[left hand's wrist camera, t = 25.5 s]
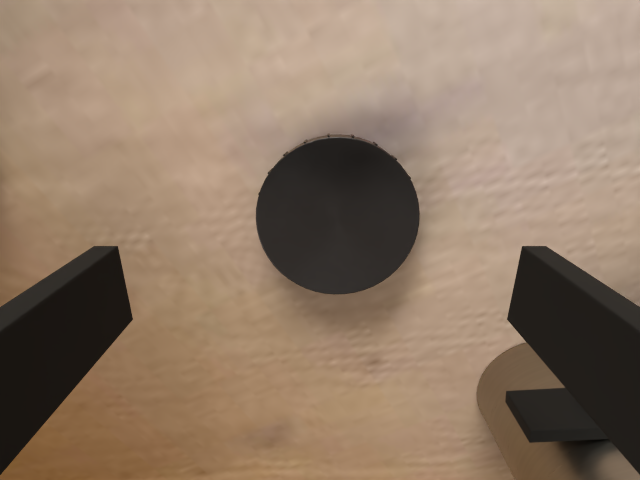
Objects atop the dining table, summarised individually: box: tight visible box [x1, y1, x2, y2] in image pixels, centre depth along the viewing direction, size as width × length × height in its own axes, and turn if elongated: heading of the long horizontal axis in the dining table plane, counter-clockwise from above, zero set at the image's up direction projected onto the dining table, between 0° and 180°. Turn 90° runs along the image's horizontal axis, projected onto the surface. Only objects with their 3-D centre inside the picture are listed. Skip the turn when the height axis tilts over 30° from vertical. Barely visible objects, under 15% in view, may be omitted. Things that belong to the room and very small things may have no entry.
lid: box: [256, 134, 419, 294], centre depth 22 cm, size 9×9×2 cm
